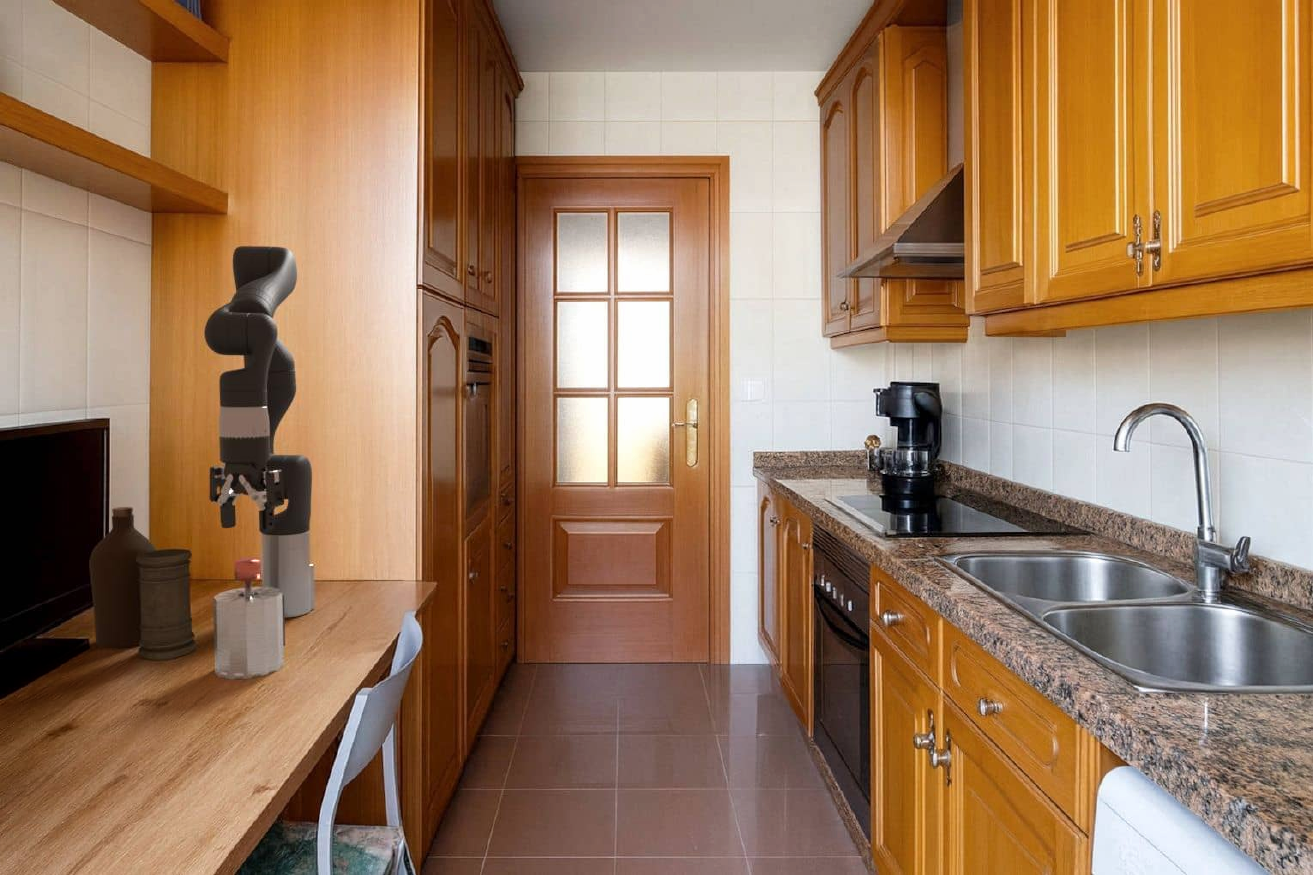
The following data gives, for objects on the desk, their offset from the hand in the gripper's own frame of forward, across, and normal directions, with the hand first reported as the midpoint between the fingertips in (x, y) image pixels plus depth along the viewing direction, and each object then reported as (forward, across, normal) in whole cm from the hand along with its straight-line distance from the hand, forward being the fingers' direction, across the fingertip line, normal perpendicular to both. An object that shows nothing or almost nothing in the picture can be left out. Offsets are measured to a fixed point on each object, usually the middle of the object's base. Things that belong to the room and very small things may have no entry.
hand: (247, 529), depth 137 cm
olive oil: (+24, +32, -1) cm, 40 cm away
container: (+24, +20, 0) cm, 31 cm away
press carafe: (+24, 0, 0) cm, 24 cm away
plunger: (+22, 0, 0) cm, 22 cm away
